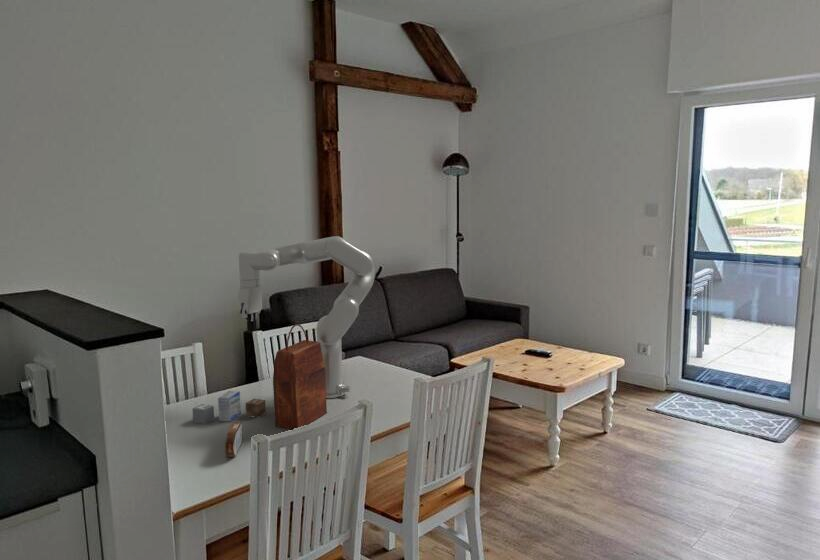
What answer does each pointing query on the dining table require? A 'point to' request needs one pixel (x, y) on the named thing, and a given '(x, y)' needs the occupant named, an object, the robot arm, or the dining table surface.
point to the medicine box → (229, 406)
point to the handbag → (299, 384)
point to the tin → (234, 439)
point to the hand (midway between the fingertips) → (252, 330)
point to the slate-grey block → (203, 413)
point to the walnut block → (255, 407)
